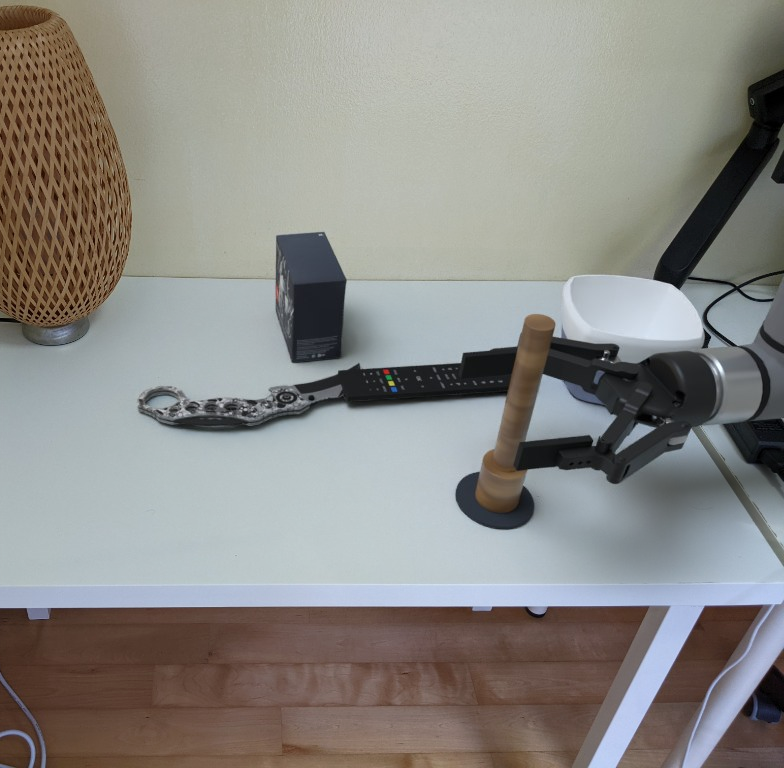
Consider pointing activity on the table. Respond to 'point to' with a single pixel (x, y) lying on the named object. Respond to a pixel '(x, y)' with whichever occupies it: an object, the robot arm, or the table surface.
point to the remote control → (415, 382)
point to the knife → (241, 404)
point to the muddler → (515, 418)
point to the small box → (309, 296)
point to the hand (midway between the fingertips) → (487, 407)
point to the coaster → (489, 518)
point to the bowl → (628, 318)
